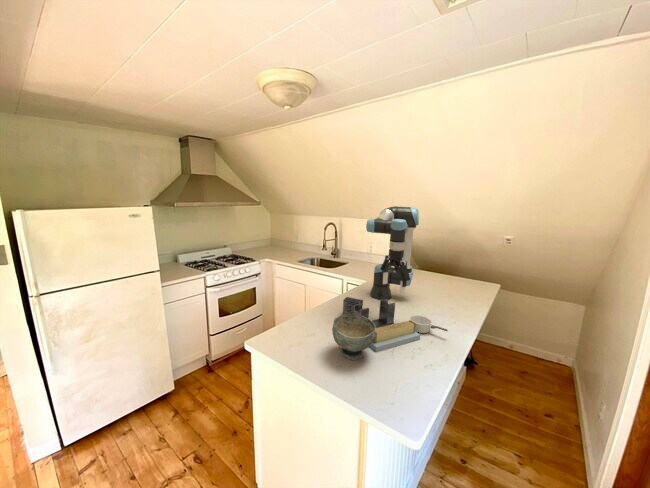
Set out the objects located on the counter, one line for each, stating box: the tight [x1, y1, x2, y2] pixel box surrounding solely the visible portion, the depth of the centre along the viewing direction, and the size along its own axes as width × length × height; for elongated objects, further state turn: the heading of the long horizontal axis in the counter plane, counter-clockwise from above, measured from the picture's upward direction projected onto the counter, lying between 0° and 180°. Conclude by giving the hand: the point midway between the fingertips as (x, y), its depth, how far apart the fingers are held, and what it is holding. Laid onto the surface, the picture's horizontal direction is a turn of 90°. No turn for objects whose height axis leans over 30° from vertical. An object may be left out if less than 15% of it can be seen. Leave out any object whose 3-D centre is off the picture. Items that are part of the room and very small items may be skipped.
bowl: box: [331, 314, 376, 361], centre depth 122 cm, size 20×19×15 cm
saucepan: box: [409, 315, 448, 334], centre depth 146 cm, size 12×20×6 cm, turn 45°
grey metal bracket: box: [353, 299, 396, 329], centre depth 151 cm, size 7×24×12 cm, turn 117°
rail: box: [373, 319, 416, 344], centre depth 135 cm, size 4×26×5 cm, turn 117°
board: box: [369, 331, 421, 353], centre depth 136 cm, size 10×28×2 cm, turn 117°
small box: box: [342, 296, 364, 315], centre depth 161 cm, size 11×6×10 cm, turn 65°
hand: (393, 287), depth 144 cm, fingers open, 13 cm apart
